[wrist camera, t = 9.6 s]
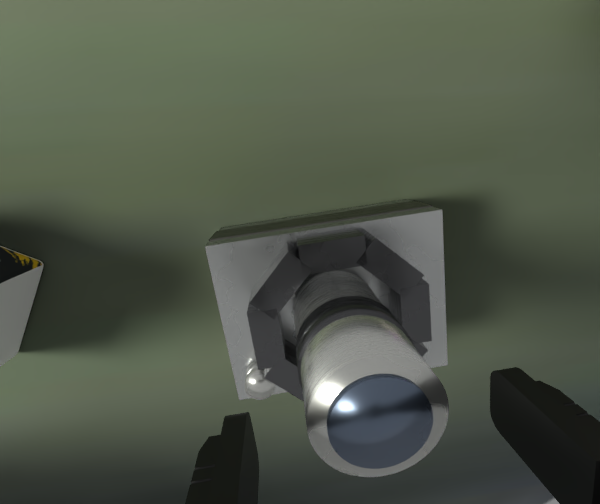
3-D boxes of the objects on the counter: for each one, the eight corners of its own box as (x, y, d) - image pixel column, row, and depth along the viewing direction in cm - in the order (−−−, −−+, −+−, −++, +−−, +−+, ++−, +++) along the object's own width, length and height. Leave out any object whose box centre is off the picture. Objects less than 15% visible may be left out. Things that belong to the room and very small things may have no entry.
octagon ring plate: (246, 352, 24) (234, 427, 17) (220, 227, 22) (194, 256, 15) (414, 325, 24) (467, 387, 18) (406, 198, 22) (464, 214, 15)
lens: (298, 354, 19) (314, 498, 11) (285, 276, 17) (293, 371, 9) (380, 341, 19) (458, 472, 11) (373, 262, 18) (454, 344, 10)
